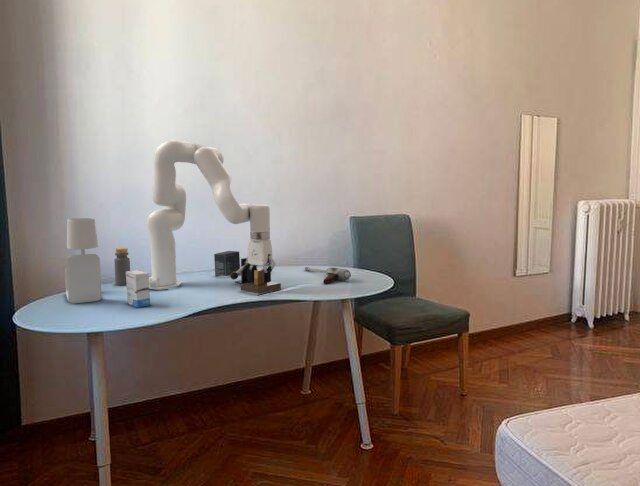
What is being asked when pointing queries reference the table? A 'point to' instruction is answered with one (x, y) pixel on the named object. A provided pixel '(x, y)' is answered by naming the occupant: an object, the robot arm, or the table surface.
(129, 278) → the ink box
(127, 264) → the bottle
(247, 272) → the handle bracket
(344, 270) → the grey pistol
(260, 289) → the lock plate
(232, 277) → the door lever
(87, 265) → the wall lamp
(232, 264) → the box
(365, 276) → the table surface
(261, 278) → the thumbturn
